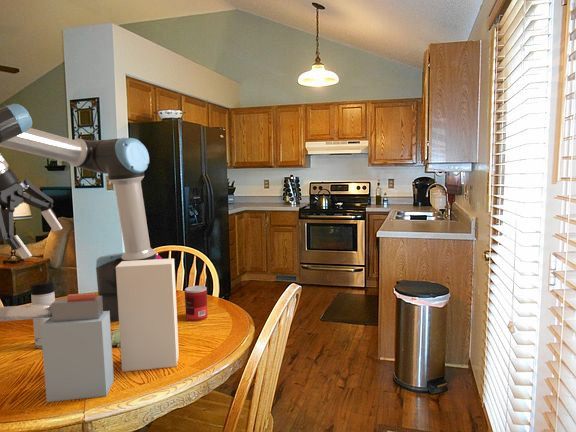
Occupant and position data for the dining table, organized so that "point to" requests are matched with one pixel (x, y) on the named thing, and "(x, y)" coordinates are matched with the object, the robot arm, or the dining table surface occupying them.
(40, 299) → the travel mug
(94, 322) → the low stand
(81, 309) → the grey piece
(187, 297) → the canned food
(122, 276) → the tall stand
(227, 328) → the dining table surface
